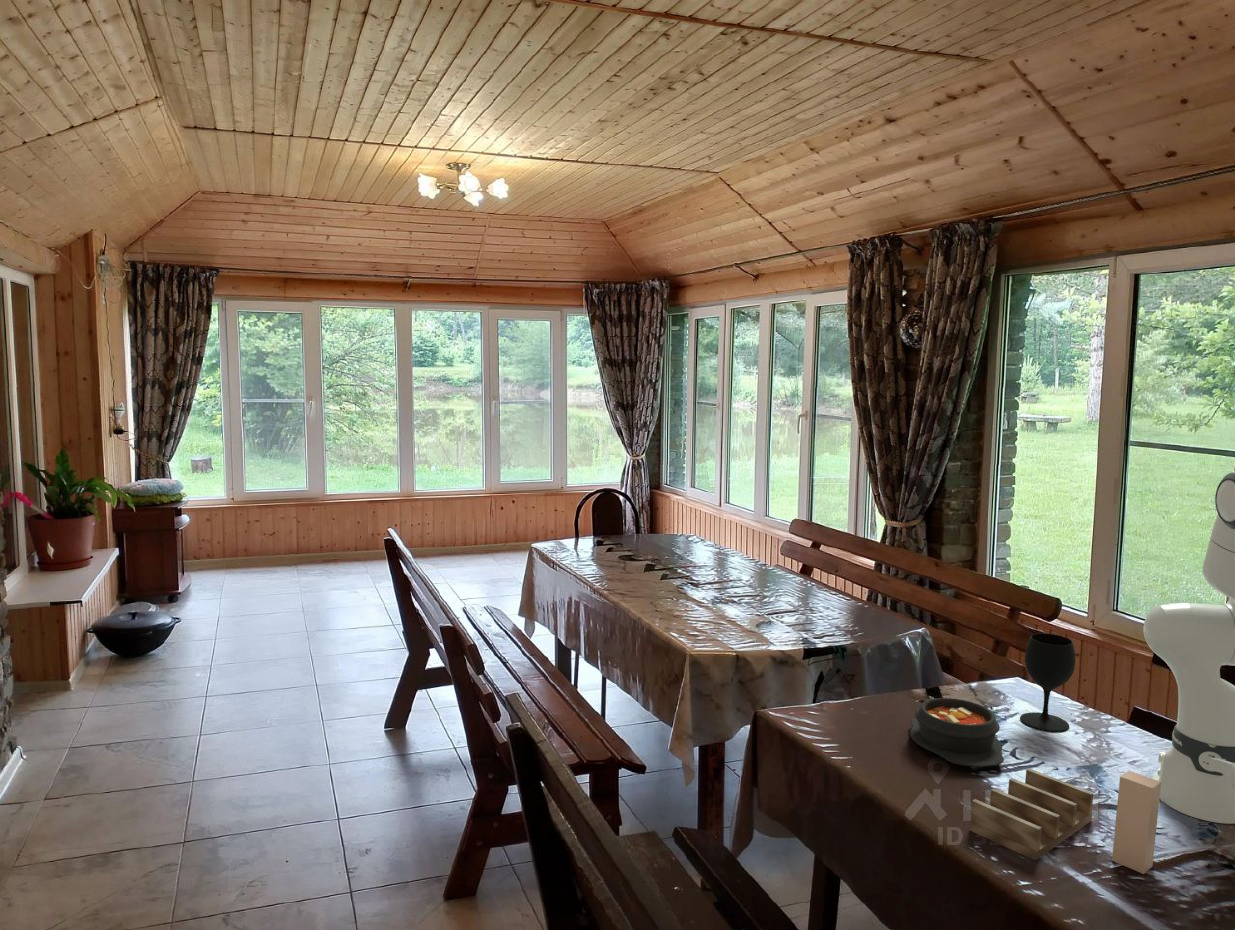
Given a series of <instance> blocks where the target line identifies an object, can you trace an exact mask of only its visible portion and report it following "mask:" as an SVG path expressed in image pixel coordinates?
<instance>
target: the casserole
mask: <svg viewBox="0 0 1235 930" xmlns="http://www.w3.org/2000/svg"><path fill="white" fill-rule="evenodd" d="M914 715H915V717H914V718H912V719H911V729H910V731H909V732H910V733H909V734H910V737H911V739H912V740H913V741H914V742H915V743H916V745H918V746H920V747H922V748H923V749H925V750H926V751H929V752H930V753H934V755H935V754H936V755H938V756H939V757H941V758H943V759H945V760H946V761H948V762H949V763H952V764H954V765H958V766H964V767H976V768H982V767H983V768H986V767H995V766H998V765H1001V764H1003V763H1004V761H1005V760H1004V759H1005V758H1004V756H1003V754H1002V753H1003V745H1002V742H1001V741H1000V740H999V739H998V738H997V737H996V734H997V733H998V732H999V731H1000V728H1001V726H1000V724H999V722H998V721H997V719H996V716H995V713H993V711H992V710H991V709H988V708H987V707H986V706H983V705H981V704H978V703H976V702H973V701H968V700H964V699H958V698H952V697H949V698H948V697H937V698H930V699H927V700H925V701H923V702H922V703H921V705H920V707H919V708H918V710H917V711H915V714H914Z"/></svg>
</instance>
